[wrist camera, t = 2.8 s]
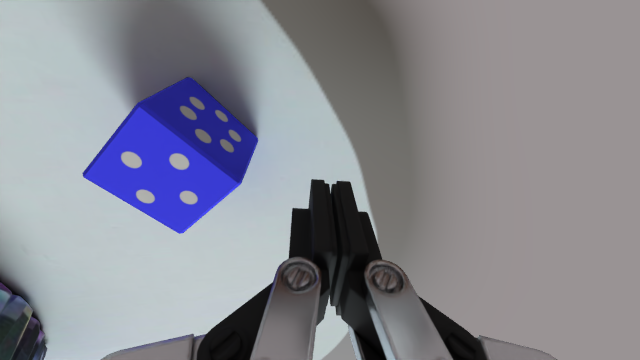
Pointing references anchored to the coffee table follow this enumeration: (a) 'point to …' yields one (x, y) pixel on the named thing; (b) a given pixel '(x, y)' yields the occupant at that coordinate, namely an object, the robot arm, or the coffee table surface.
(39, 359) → the decorative bowl
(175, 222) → the die
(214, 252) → the coffee table surface
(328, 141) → the coffee table surface
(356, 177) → the coffee table surface
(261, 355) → the robot arm
